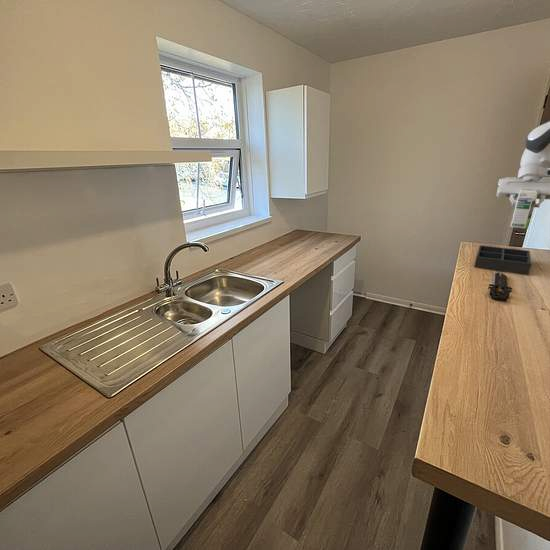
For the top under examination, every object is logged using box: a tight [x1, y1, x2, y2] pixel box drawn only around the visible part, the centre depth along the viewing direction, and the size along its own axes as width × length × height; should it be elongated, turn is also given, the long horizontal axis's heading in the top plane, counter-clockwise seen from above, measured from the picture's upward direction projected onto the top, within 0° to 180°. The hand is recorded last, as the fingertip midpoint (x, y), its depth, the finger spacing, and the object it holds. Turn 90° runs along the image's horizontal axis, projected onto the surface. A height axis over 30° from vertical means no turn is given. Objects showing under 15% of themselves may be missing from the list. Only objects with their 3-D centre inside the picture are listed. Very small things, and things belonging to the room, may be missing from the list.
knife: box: [488, 271, 513, 302], centre depth 105 cm, size 25×6×1 cm, turn 140°
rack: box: [473, 244, 532, 276], centre depth 123 cm, size 17×17×5 cm
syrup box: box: [509, 189, 539, 230], centre depth 118 cm, size 6×6×14 cm
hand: (525, 206), depth 117 cm, fingers closed on syrup box, 6 cm apart
